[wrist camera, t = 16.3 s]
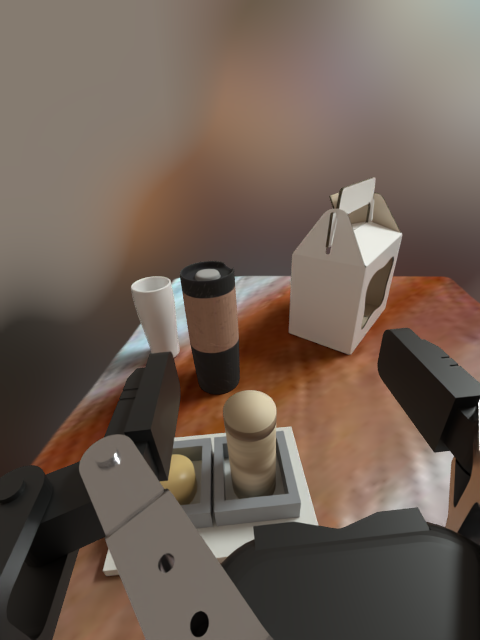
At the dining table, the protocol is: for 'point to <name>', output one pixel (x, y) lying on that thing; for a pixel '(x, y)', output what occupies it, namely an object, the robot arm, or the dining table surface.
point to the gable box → (344, 269)
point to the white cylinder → (157, 313)
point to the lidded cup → (251, 443)
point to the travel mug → (212, 324)
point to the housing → (232, 493)
